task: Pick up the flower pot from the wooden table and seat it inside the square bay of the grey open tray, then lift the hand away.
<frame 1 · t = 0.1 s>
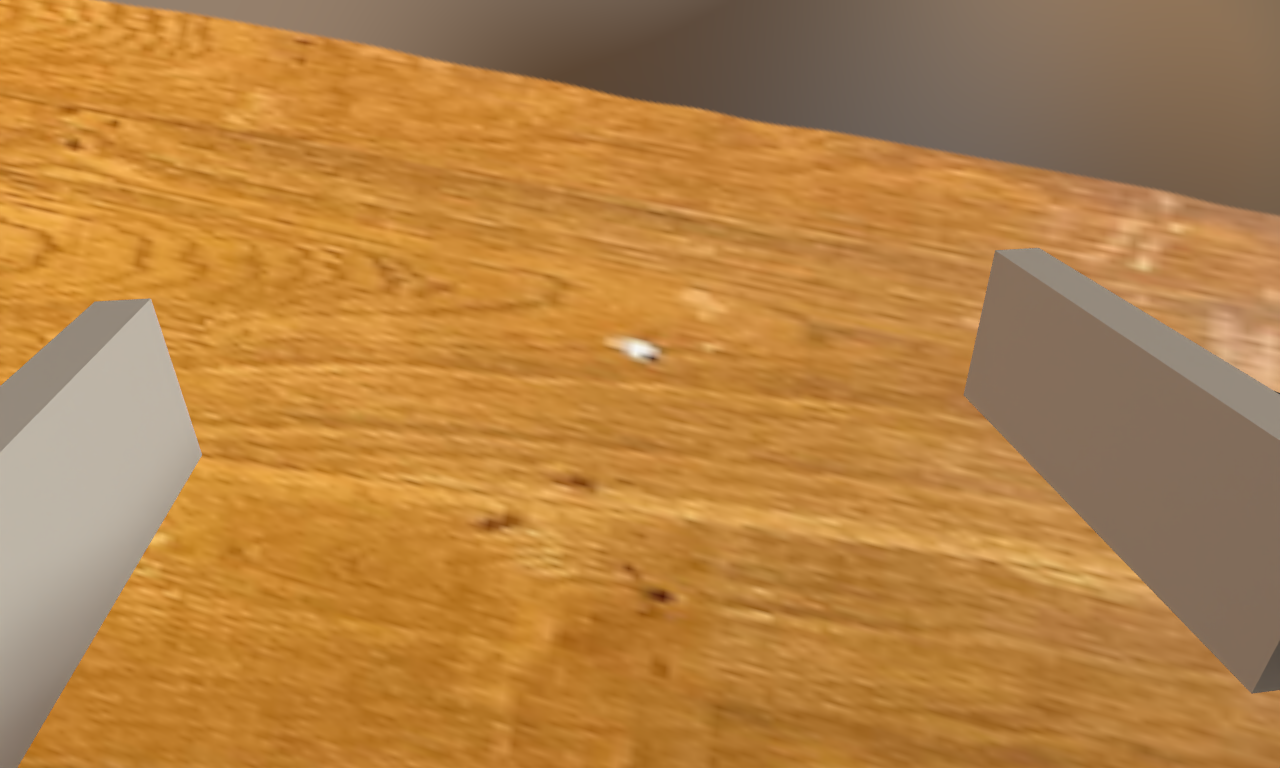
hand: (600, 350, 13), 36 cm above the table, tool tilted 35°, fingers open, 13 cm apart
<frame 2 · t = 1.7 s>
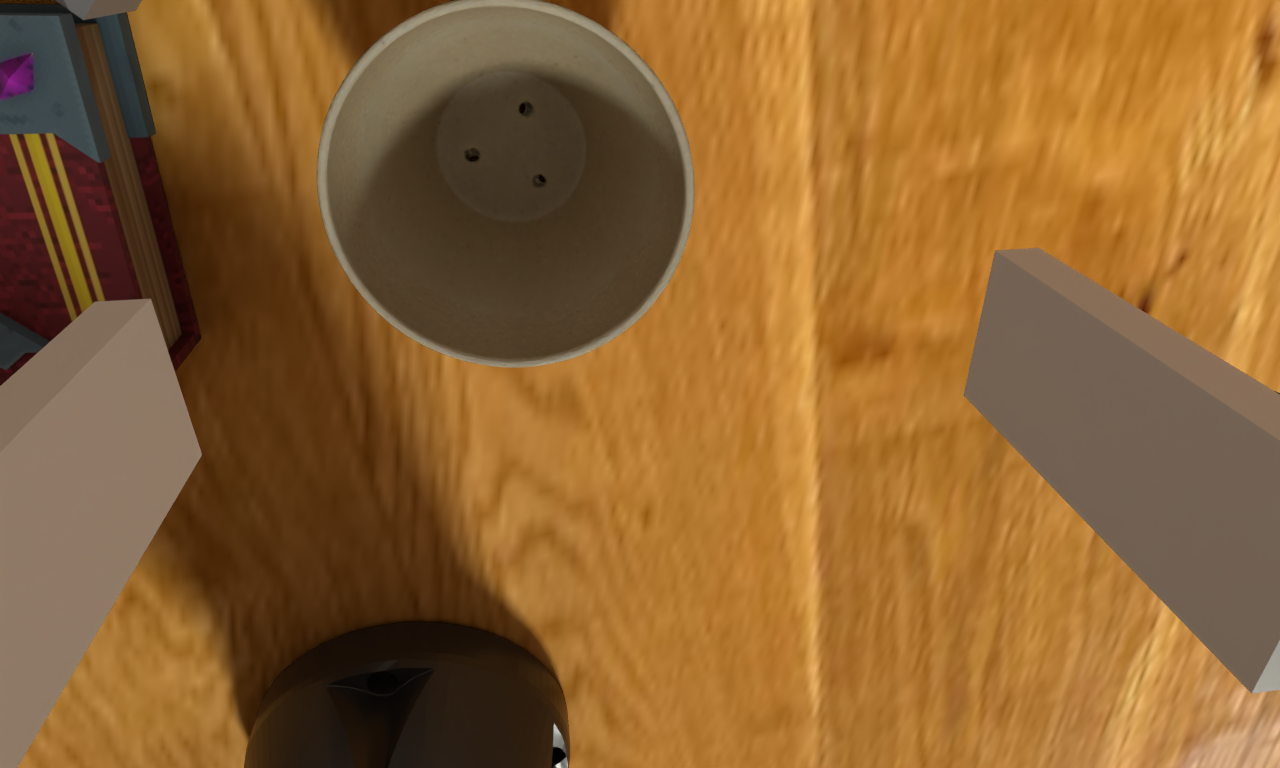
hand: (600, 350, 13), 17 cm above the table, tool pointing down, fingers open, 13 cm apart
flower pot: (510, 143, 28), on the table
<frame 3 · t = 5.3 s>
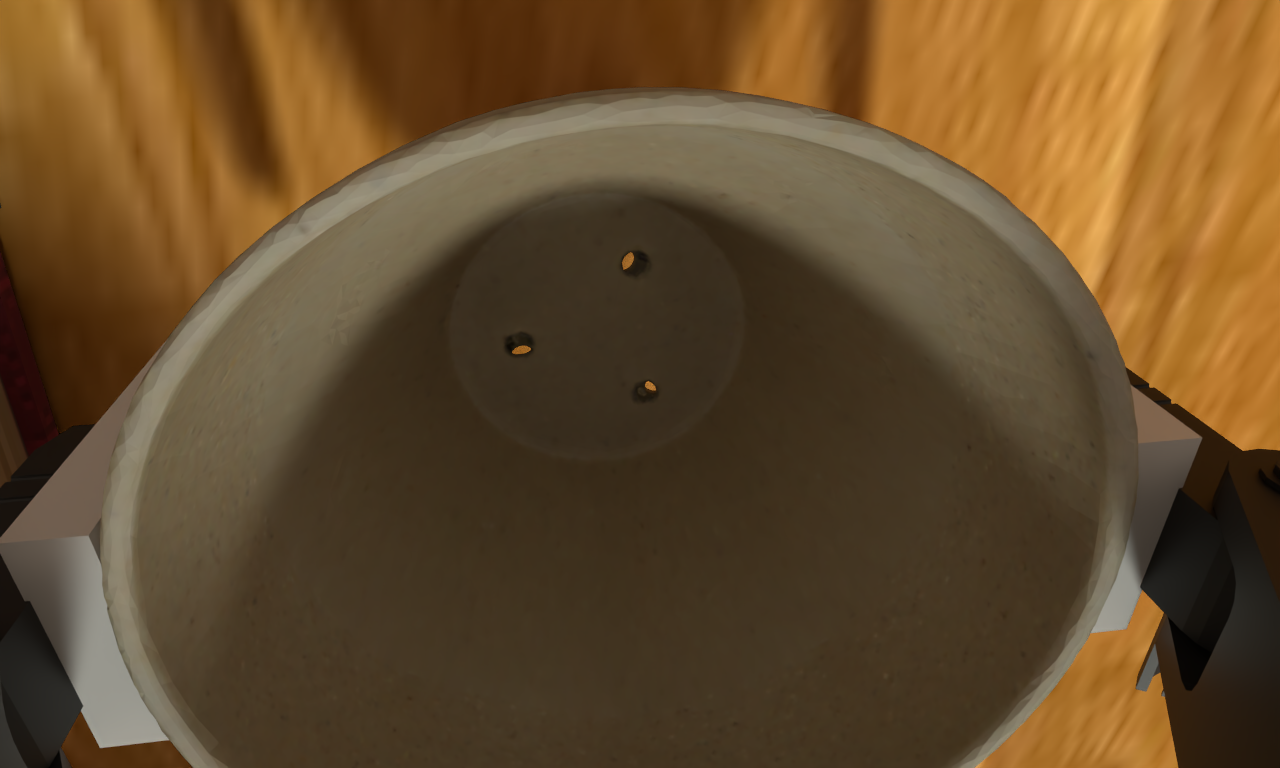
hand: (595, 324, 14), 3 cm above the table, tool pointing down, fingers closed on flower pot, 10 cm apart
flower pot: (593, 316, 14), point 2 cm above the table, touching gripper
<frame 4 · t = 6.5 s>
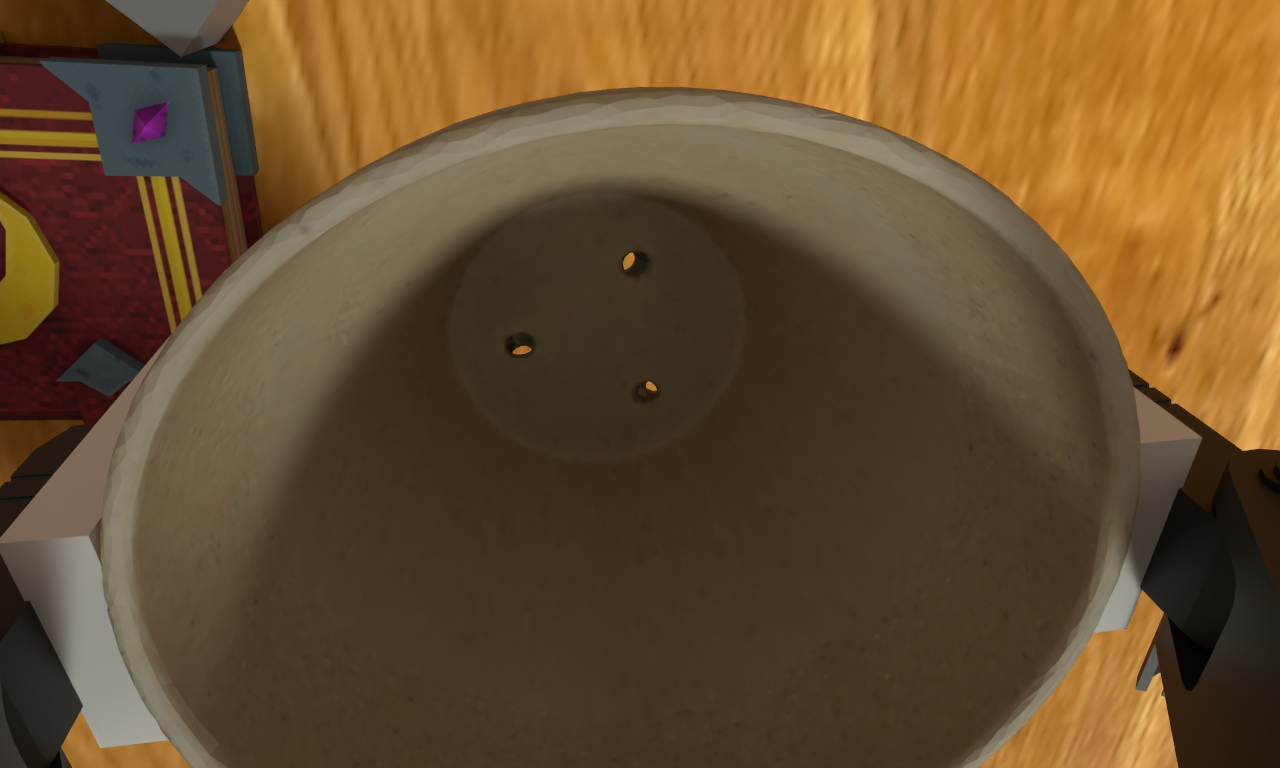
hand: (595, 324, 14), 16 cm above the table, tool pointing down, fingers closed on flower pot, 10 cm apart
flower pot: (594, 317, 14), point 15 cm above the table, touching gripper
decorative book: (15, 212, 27), on the table
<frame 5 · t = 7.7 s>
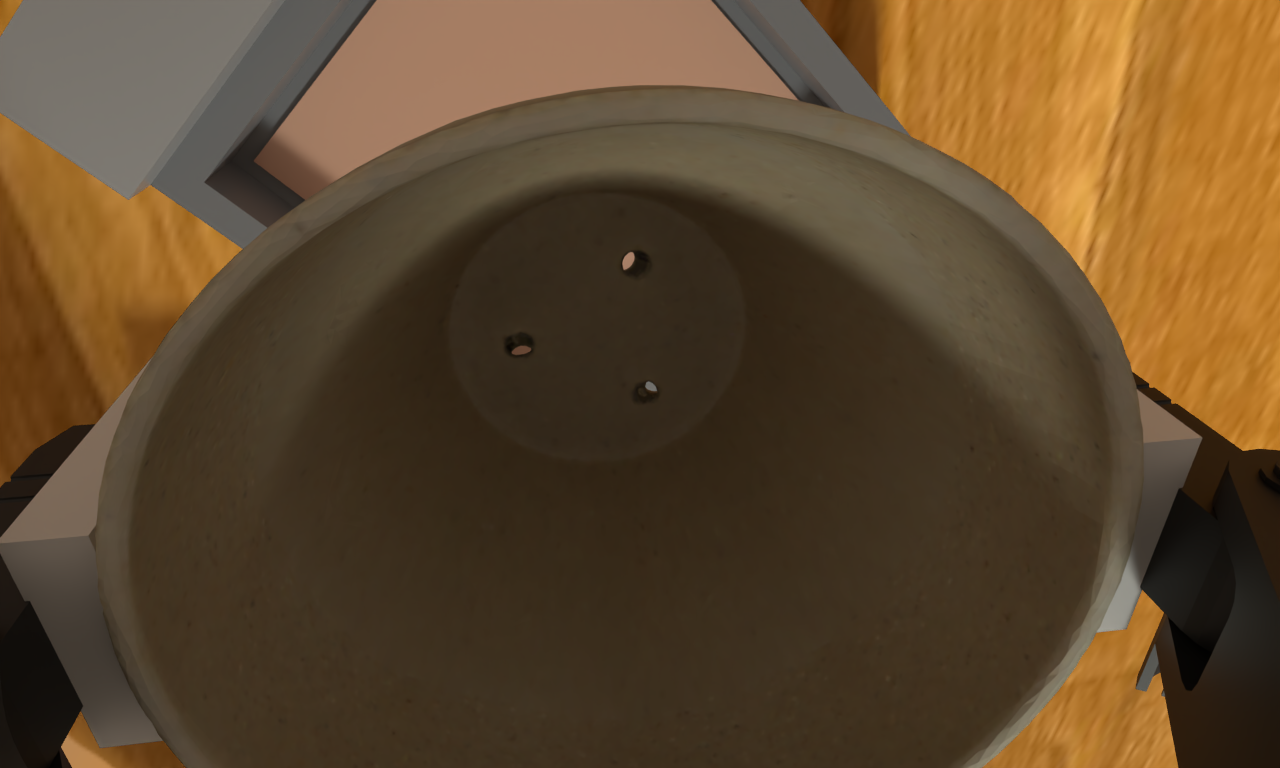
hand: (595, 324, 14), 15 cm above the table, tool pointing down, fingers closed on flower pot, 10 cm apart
grey open tray: (552, 140, 27), on the table
flower pot: (594, 317, 14), point 15 cm above the table, touching gripper
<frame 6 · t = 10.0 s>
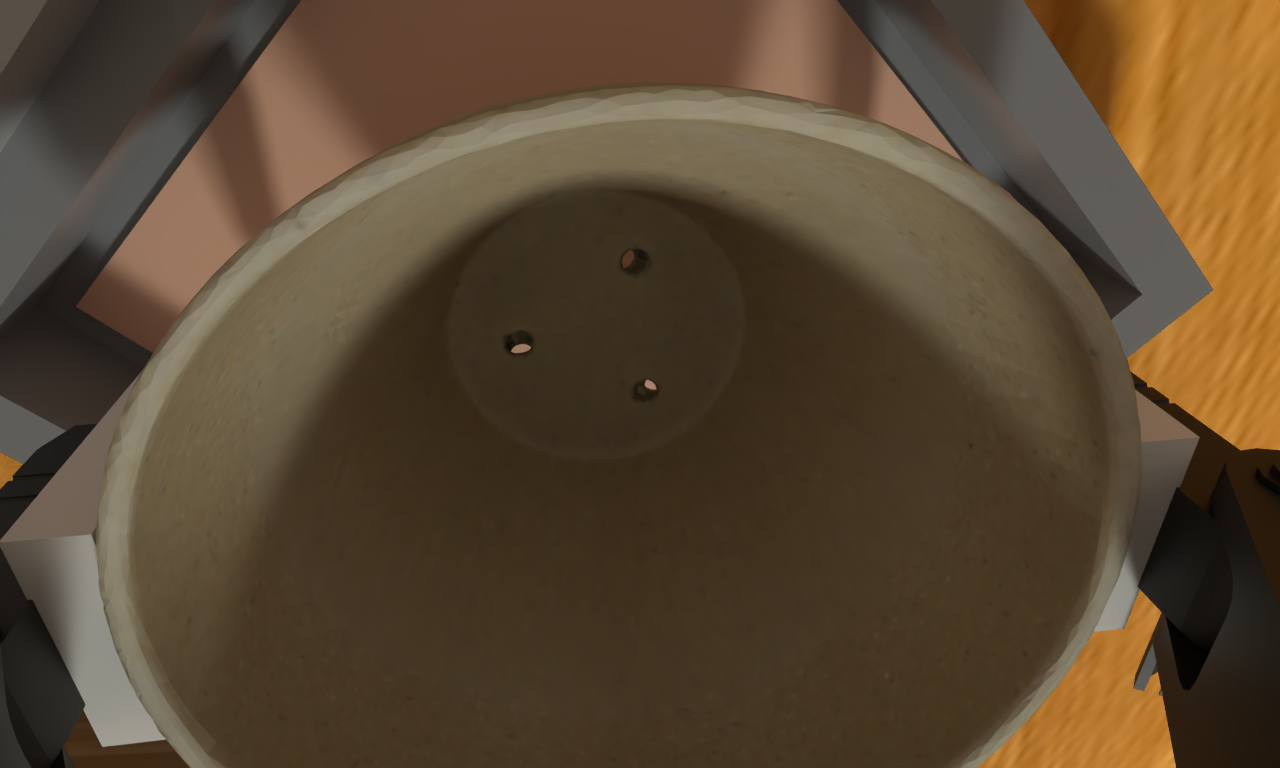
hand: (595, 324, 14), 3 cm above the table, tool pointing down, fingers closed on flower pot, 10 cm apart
grey open tray: (582, 256, 17), on the table
flower pot: (593, 315, 14), point 3 cm above the table, touching gripper
when the fingers open (3 cm above the table, at t = 10.3 s): flower pot drops 2 cm, resting on grey open tray.
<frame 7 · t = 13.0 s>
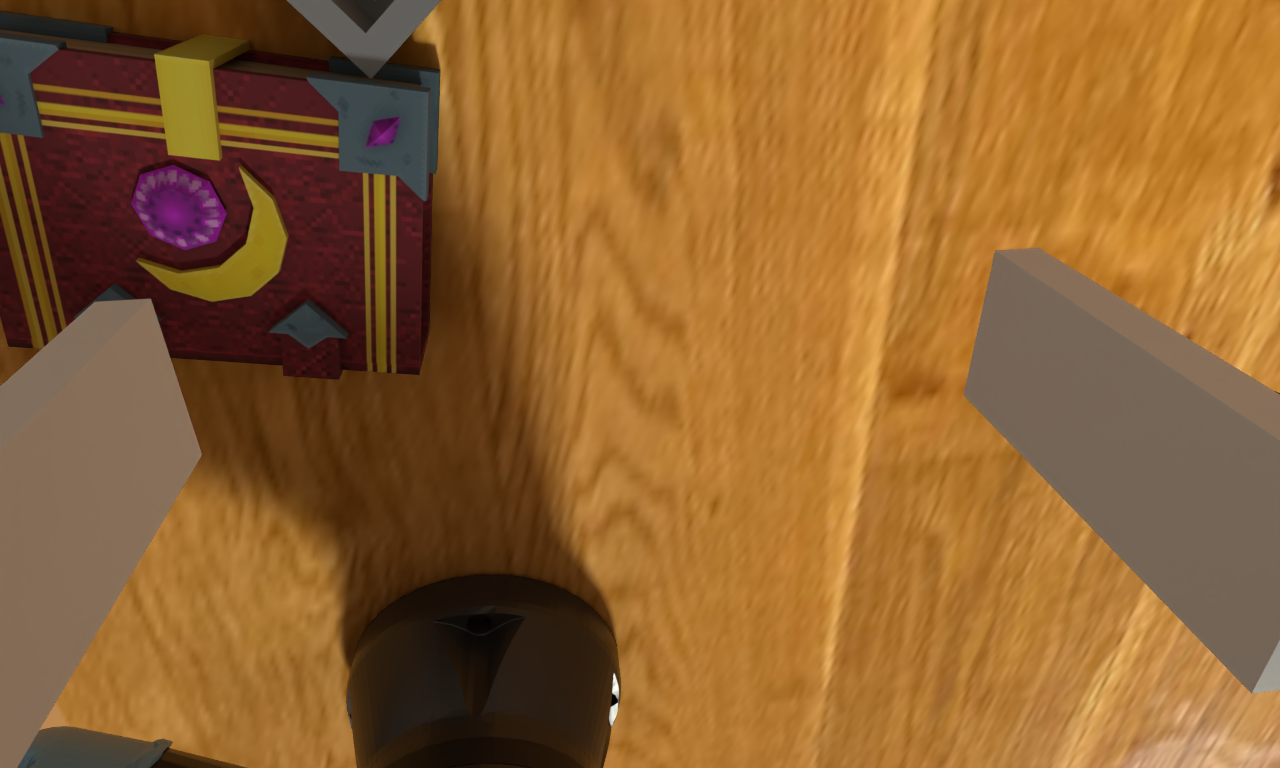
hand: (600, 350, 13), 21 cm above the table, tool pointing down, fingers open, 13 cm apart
decorative book: (229, 186, 32), on the table
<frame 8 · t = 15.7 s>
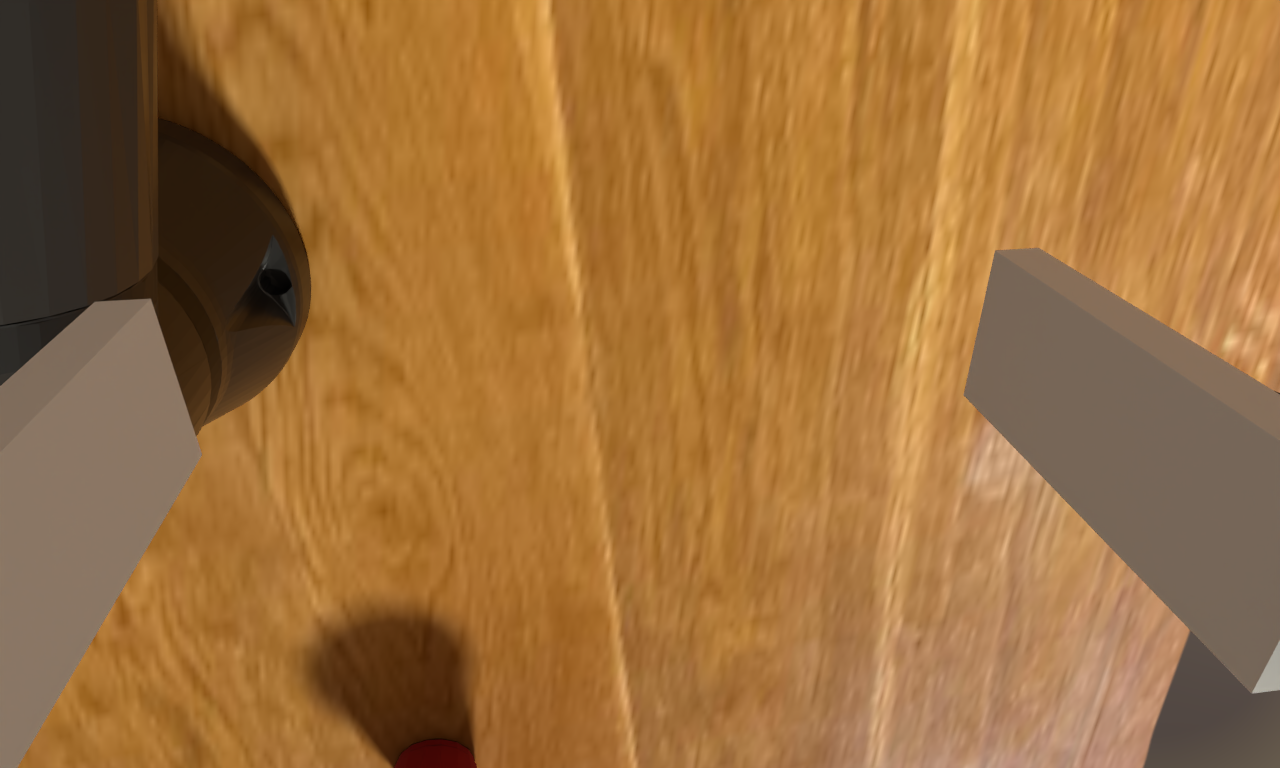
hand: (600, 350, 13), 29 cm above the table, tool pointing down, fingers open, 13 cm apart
plastic cup: (433, 762, 60), on the table
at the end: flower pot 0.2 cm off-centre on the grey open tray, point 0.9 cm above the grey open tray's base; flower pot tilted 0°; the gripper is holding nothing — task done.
